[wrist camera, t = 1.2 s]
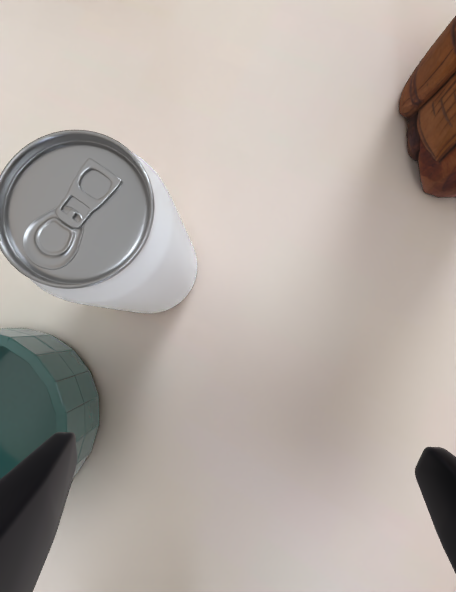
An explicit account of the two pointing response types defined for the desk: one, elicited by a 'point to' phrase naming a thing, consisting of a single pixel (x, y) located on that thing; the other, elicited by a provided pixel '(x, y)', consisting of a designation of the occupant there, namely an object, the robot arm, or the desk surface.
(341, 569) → the desk surface
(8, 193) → the can
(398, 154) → the desk surface
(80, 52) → the desk surface
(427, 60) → the wooden figurine
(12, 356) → the bowl
